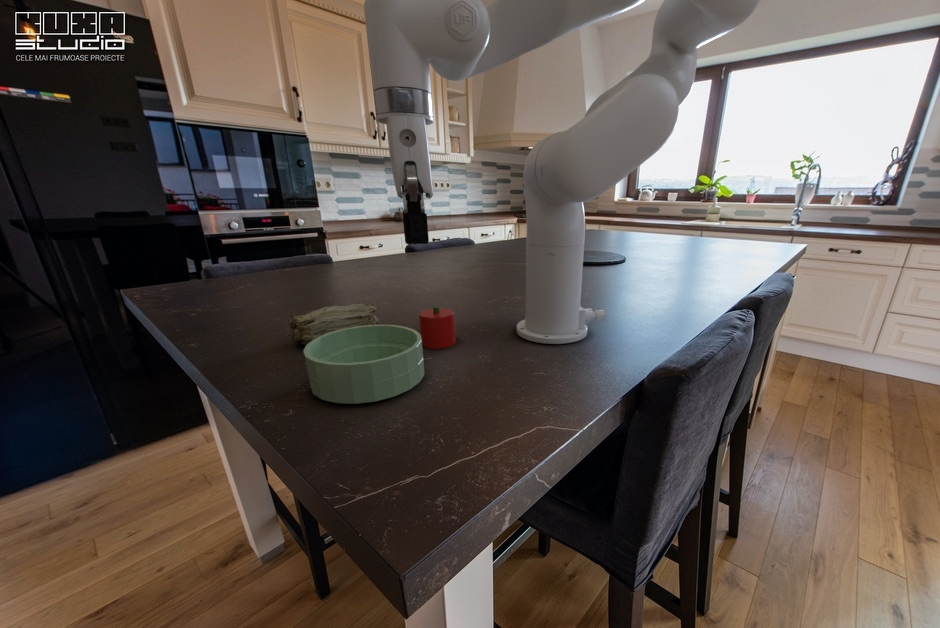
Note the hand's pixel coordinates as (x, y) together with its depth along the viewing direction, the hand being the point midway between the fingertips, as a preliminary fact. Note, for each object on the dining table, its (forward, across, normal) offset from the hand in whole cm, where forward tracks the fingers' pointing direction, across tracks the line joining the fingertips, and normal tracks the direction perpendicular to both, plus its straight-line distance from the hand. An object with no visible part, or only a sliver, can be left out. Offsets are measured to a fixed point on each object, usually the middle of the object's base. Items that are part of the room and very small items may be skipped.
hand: (416, 239), depth 59 cm
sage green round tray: (+17, -12, +8) cm, 22 cm away
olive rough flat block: (+17, +7, +15) cm, 24 cm away
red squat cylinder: (+17, 0, -2) cm, 17 cm away
